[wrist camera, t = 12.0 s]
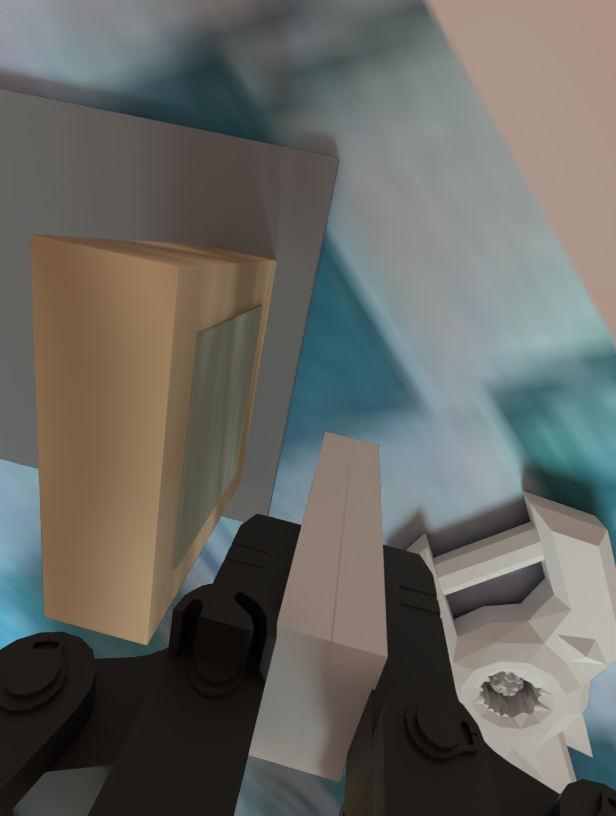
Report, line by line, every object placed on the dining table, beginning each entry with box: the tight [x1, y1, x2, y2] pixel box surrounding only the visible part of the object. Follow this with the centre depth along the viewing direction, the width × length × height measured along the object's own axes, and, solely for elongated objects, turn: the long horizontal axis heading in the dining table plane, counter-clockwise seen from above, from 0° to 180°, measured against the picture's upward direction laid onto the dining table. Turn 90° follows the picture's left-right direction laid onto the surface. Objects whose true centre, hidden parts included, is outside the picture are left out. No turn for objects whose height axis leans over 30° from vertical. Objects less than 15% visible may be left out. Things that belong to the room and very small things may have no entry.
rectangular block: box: [30, 234, 277, 645], centre depth 14 cm, size 3×10×9 cm, turn 169°
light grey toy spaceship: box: [405, 490, 616, 794], centre depth 21 cm, size 18×4×10 cm
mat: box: [0, 89, 339, 522], centre depth 18 cm, size 16×14×1 cm
